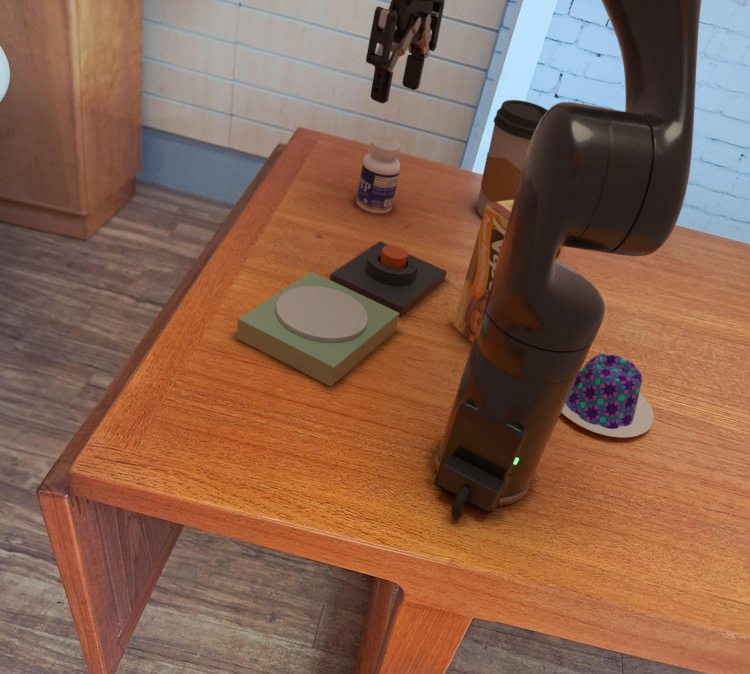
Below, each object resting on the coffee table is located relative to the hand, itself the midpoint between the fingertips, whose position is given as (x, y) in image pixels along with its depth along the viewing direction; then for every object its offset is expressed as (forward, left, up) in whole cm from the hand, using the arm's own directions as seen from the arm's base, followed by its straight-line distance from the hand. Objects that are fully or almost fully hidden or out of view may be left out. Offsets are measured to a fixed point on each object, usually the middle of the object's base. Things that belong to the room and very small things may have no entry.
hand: (394, 94), depth 101 cm
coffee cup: (+13, -14, -15) cm, 24 cm away
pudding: (-22, -42, -15) cm, 50 cm away
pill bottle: (0, 0, -15) cm, 15 cm away
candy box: (-20, -27, -15) cm, 37 cm away
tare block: (-17, -12, -15) cm, 26 cm away
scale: (-33, -12, -15) cm, 38 cm away
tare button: (-17, -12, -12) cm, 24 cm away
